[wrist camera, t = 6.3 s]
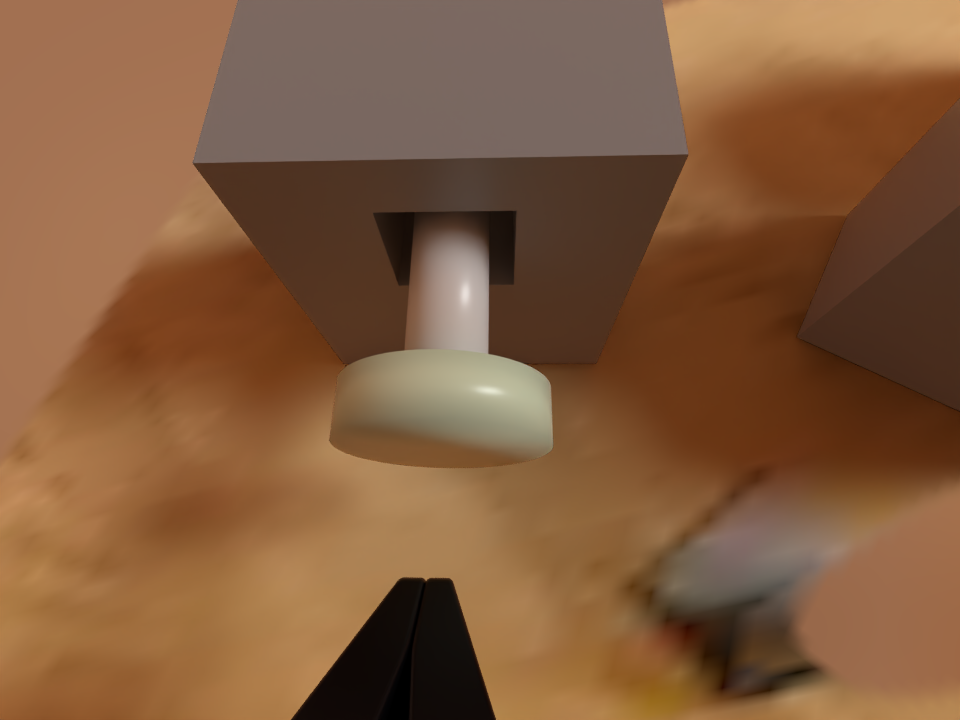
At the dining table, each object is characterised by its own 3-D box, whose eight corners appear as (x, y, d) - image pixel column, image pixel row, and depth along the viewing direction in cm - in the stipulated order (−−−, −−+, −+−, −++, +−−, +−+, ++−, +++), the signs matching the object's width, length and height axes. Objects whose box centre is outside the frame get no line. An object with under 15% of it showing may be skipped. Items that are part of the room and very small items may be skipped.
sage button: (544, 468, 13) (564, 417, 8) (361, 467, 13) (295, 416, 9) (538, 250, 15) (551, 127, 11) (382, 252, 15) (337, 132, 11)
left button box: (596, 363, 19) (688, 153, 9) (343, 363, 19) (192, 163, 10) (585, 222, 21) (651, -59, 12) (360, 225, 21) (250, -45, 12)
